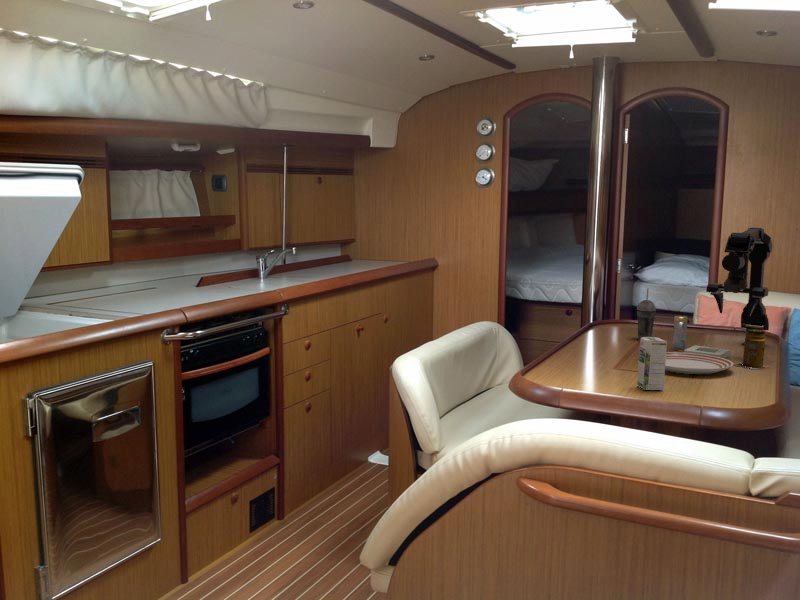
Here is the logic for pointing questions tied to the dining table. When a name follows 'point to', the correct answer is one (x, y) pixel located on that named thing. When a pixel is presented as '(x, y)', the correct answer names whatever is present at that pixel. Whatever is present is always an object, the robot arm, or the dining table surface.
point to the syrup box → (652, 363)
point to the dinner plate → (695, 363)
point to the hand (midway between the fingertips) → (735, 314)
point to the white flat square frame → (708, 351)
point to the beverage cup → (645, 317)
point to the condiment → (753, 349)
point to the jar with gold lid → (679, 333)
